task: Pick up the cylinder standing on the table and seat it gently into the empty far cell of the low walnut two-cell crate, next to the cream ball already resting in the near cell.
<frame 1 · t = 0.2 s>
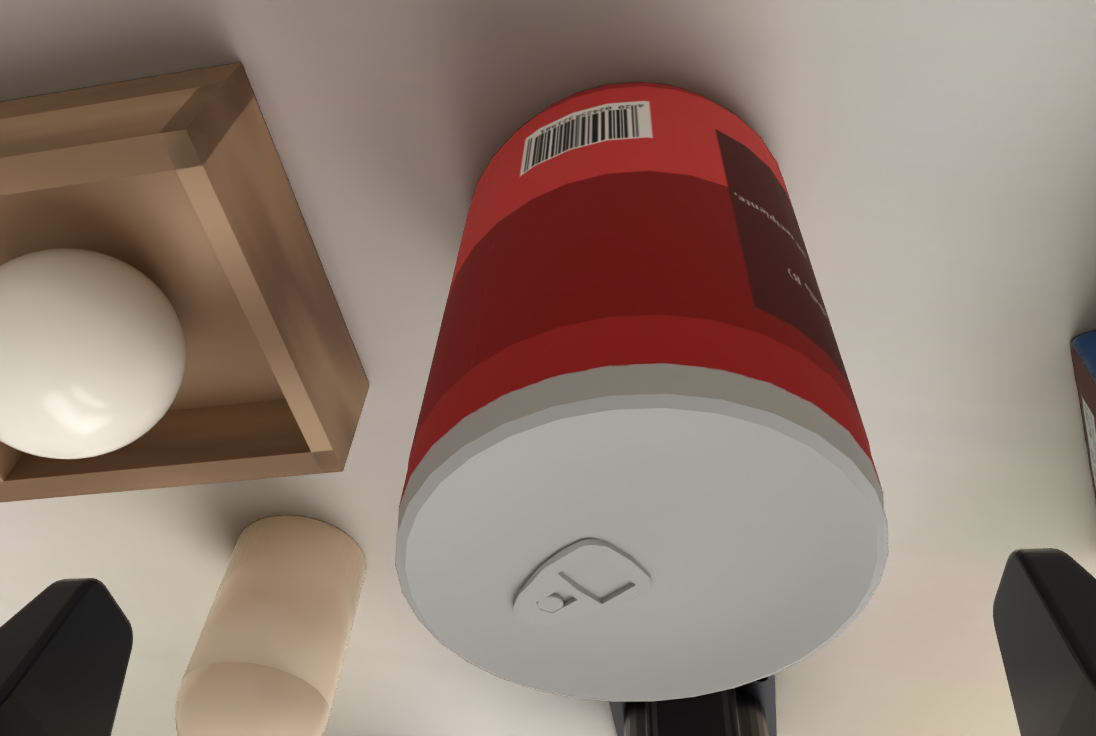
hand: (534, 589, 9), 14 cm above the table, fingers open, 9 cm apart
canned food: (624, 216, 23), on the table
cylinder: (302, 558, 32), on the table
ball: (116, 293, 23), point 1 cm above the table, touching crate
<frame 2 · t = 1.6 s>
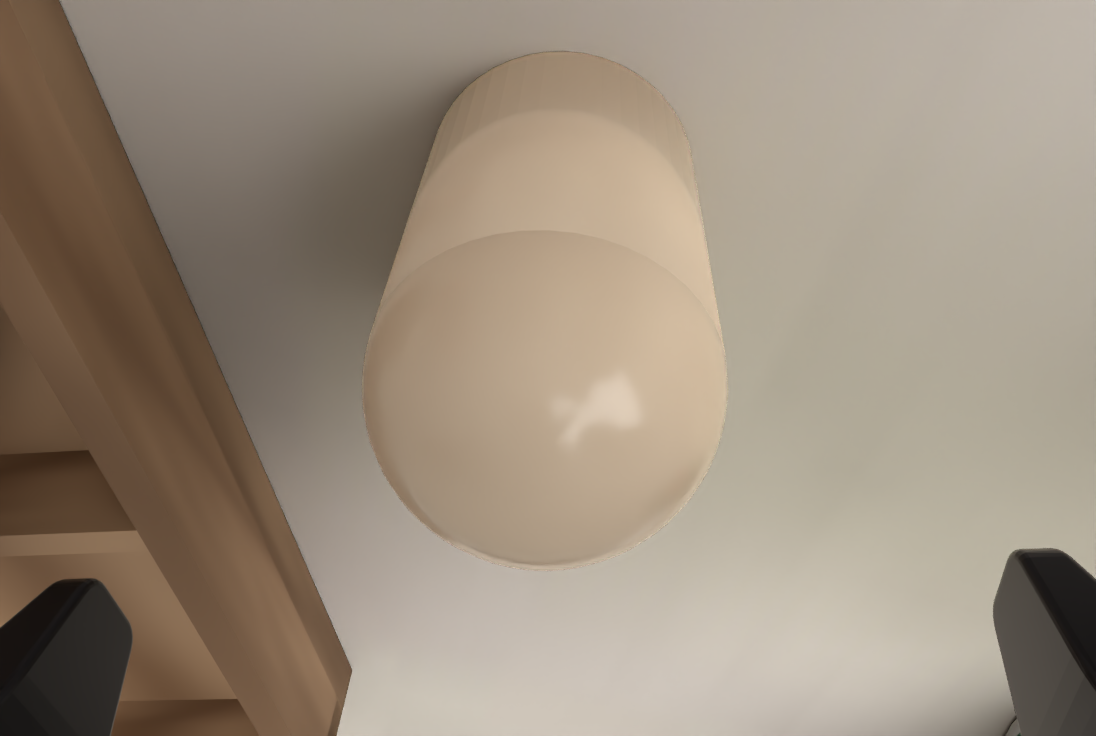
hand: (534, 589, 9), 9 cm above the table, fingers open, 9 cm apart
crate: (32, 426, 20), on the table
cylinder: (561, 181, 16), on the table
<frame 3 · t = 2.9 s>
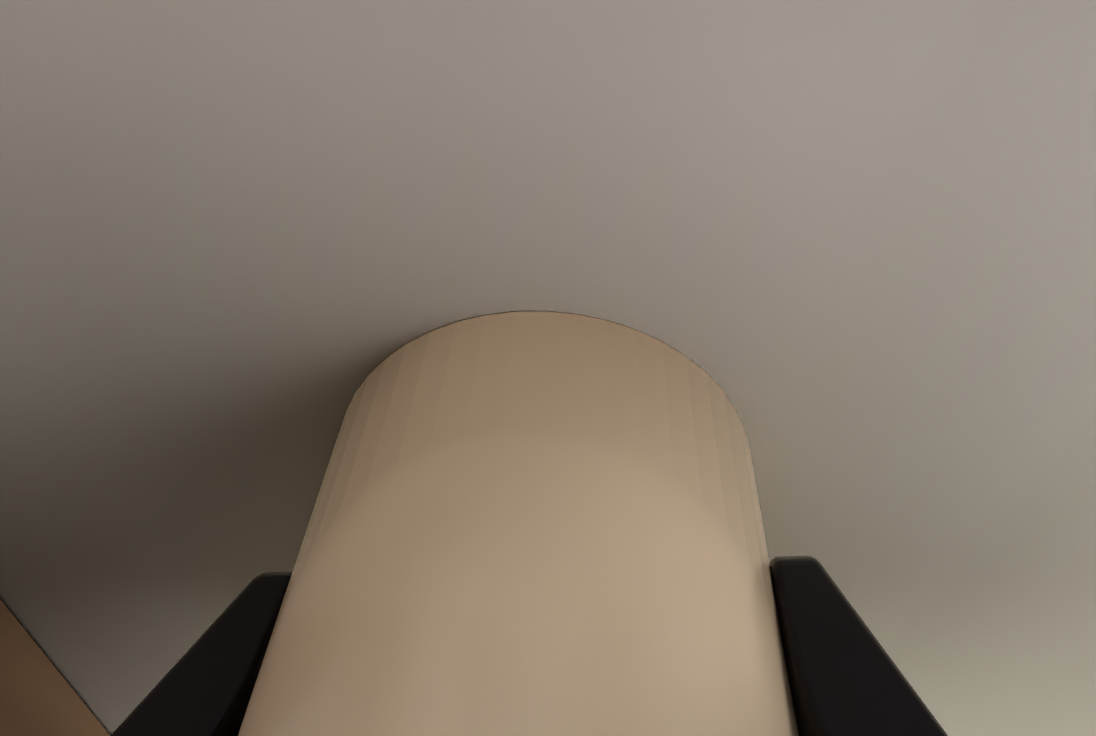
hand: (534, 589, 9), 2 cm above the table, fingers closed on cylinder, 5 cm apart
cylinder: (543, 476, 10), on the table, touching gripper
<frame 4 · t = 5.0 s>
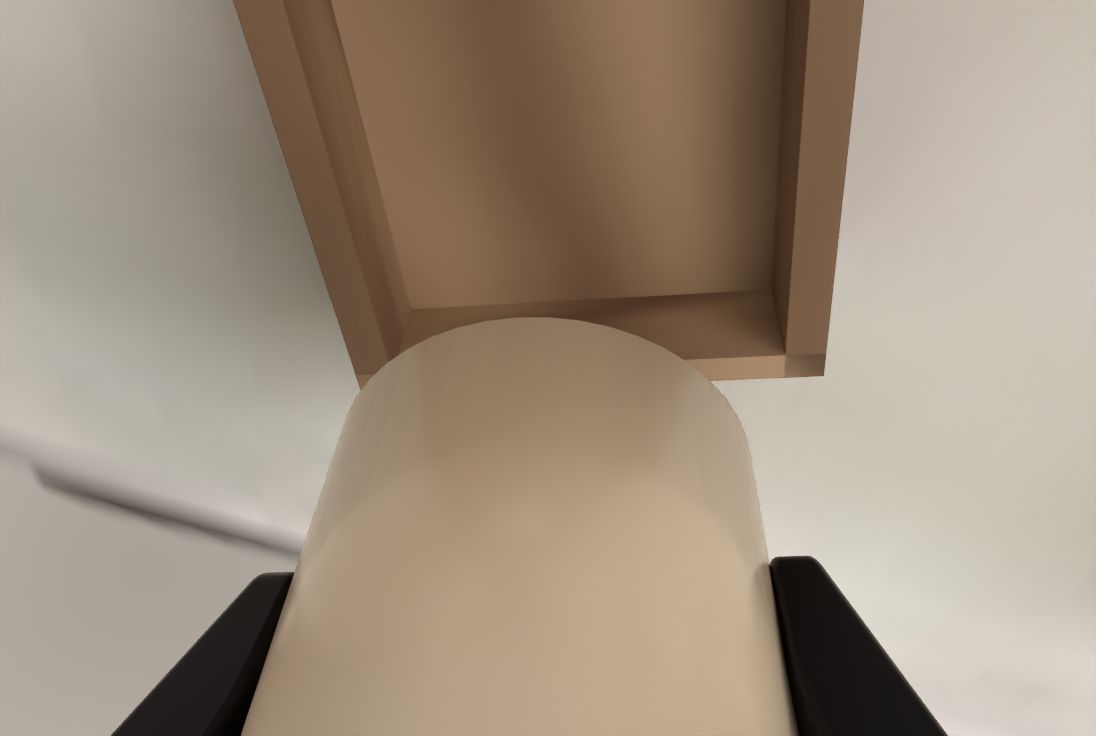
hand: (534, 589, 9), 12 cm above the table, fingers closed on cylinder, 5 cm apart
cylinder: (543, 482, 10), point 11 cm above the table, touching gripper
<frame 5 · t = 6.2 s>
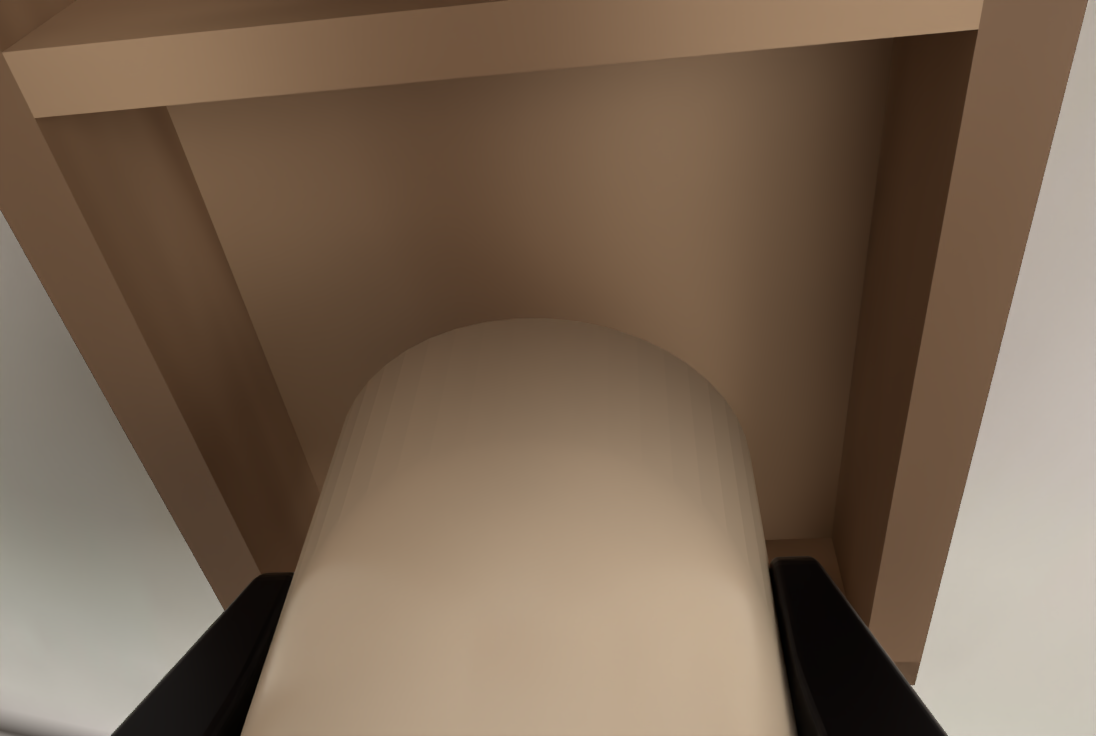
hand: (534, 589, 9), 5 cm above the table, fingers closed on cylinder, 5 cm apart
cylinder: (543, 483, 10), point 4 cm above the table, touching gripper
when the fingers open (4 cm above the table, at t = 7.2 s): cylinder drops 1 cm, resting on crate.
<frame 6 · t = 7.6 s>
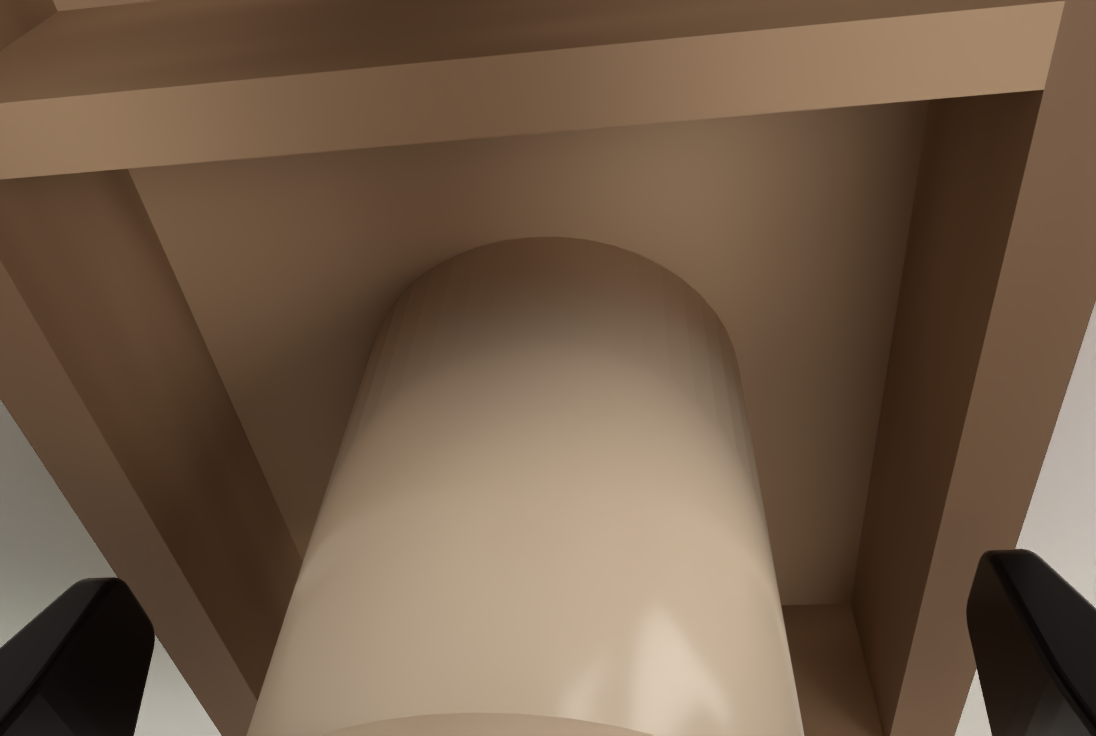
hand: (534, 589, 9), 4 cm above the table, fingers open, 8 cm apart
cylinder: (553, 395, 11), point 1 cm above the table, touching crate
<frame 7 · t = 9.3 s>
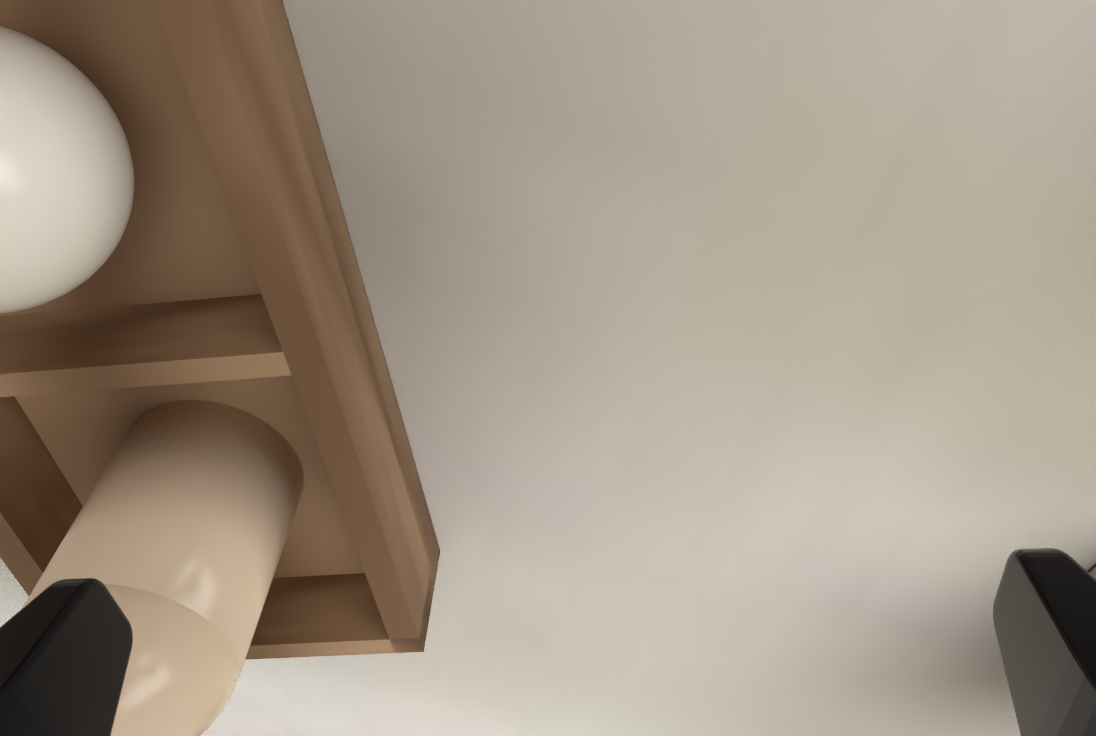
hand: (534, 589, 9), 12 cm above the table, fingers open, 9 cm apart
crate: (159, 287, 22), on the table
cylinder: (215, 467, 24), point 1 cm above the table, touching crate
ball: (44, 114, 18), point 1 cm above the table, touching crate
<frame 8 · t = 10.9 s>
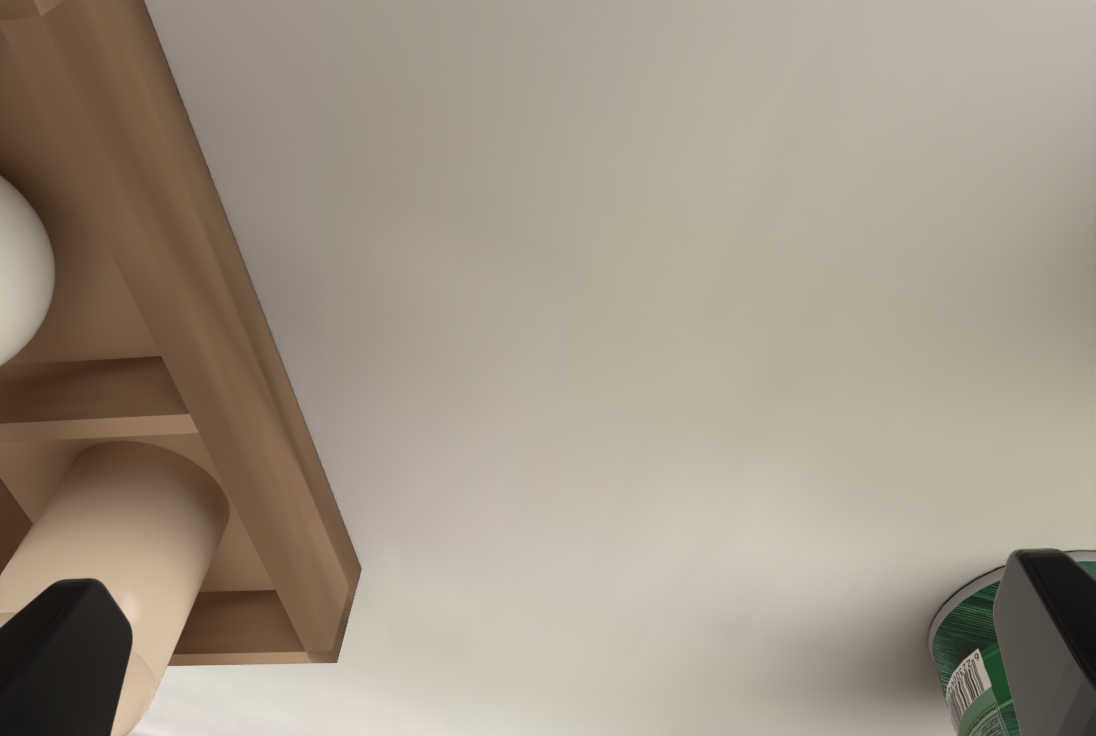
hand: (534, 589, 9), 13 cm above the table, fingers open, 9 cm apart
crate: (95, 342, 24), on the table
canned tomato: (1048, 620, 30), on the table
cylinder: (150, 497, 26), point 1 cm above the table, touching crate
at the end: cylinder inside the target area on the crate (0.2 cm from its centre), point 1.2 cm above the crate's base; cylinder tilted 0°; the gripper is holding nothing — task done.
